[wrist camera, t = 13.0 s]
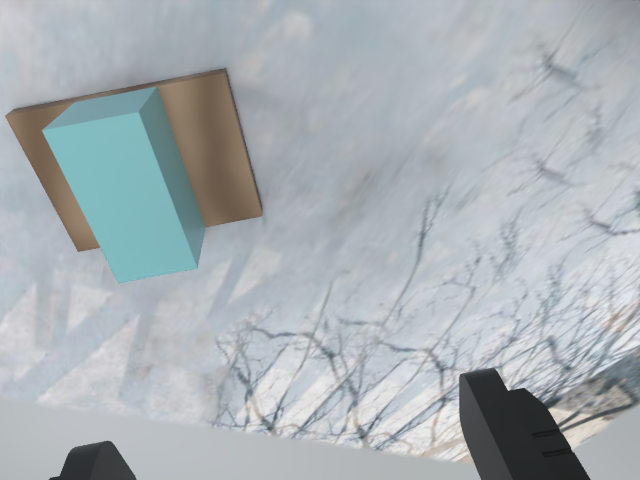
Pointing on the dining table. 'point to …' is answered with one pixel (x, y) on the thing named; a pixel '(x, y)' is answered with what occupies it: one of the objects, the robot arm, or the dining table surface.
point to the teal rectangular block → (130, 183)
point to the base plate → (192, 140)
